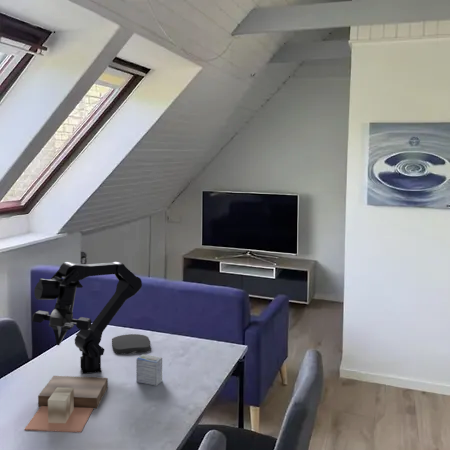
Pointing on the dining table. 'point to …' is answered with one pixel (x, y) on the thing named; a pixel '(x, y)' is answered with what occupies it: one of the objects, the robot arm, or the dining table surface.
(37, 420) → the terracotta mat
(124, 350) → the media streaming box
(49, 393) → the oak plinth
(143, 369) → the medicine box
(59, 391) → the birch block
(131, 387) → the dining table surface
